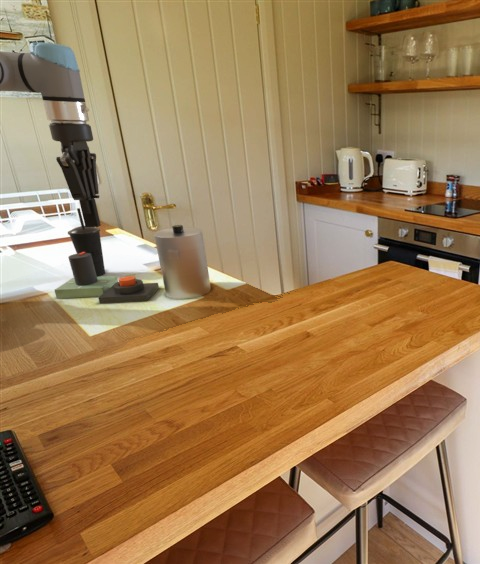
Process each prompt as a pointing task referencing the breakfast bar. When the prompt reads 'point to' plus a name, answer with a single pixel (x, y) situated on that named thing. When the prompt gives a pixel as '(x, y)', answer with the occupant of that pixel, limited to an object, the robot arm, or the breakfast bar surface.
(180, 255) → the metal canister
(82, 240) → the drinking cup
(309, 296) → the breakfast bar surface
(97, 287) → the dial panel
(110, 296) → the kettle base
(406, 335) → the breakfast bar surface
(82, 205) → the robot arm
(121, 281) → the power switch
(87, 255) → the dial
